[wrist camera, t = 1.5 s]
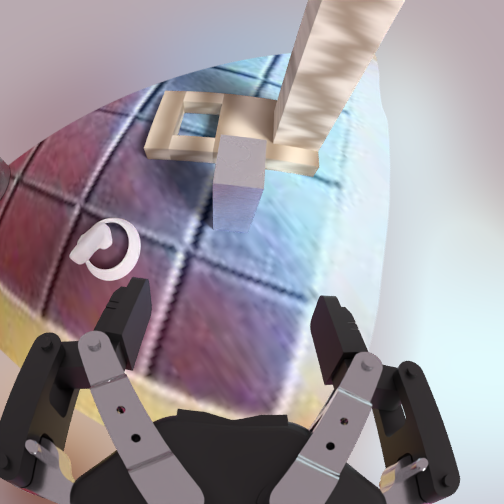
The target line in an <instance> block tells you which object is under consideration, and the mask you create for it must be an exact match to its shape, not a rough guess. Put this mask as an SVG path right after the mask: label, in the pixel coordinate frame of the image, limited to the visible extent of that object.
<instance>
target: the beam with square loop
mask: <svg viewBox="0 0 504 504" xmlns="http://www.w3.org/2000/svg"><path fill="white" fill-rule="evenodd" d="M404 1H405V0H308V3H307V6H306V9H305V12H304V16H303V18H302V22H301V25H300V28H299V31H298V34H297V37H296V41H295V44H294V47H293V51H292V53H291V57H290V60H289V63H288V67H287V70H286V73H285V77H284V80H283V83H282V87H281V90H280V93H279V97H278V100H271V99H265V98H258V97H251V96H243V95H234V94H223V93H211V92H193V91H165V93H164V95H163V98H162V100H161V103H160V105H159V108H158V110H157V113H156V115H155V118H154V121H153V123H152V126H151V129H150V132H149V135H148V138H147V140H146V143H145V146H144V150H145V153H146V155H147V158H148V159H161V160H179V161H193V162H205V163H216V160H217V154H218V148H219V142H220V137H221V135H231V136H240V137H248V138H256V139H263V140H267V143H266V160H265V169H267V170H274V171H281V172H287V173H294V174H300V175H306V176H311V177H313V176H314V174H315V173H316V171H317V170H318V168H319V158H318V151H319V149H320V147H321V146H322V144H323V142H324V141H325V139H326V137H327V135H328V134H329V132H330V130H331V129H332V127H333V125H334V123H335V122H336V120H337V118H338V117H339V115H340V113H341V111H342V110H343V108H344V106H345V105H346V103H347V101H348V99H349V98H350V96H351V94H352V92H353V91H354V89H355V87H356V85H357V84H358V82H359V80H360V79H361V77H362V75H363V73H364V72H365V70H366V68H367V66H368V65H369V63H370V61H371V59H372V58H373V56H374V54H375V52H376V51H377V49H378V47H379V45H380V44H381V42H382V40H383V38H384V37H385V35H386V33H387V31H388V29H389V28H390V26H391V24H392V23H393V21H394V19H395V17H396V15H397V14H398V12H399V10H400V9H401V7H402V5H403V3H404ZM184 113H199V114H213V115H220V116H219V121H218V126H217V132H216V137H215V138H210V137H197V136H180V135H178V132H179V129H180V126H181V122H182V119H183V116H184Z"/></svg>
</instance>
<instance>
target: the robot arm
mask: <svg viewBox="0 0 504 504" xmlns="http://www.w3.org/2000/svg"><path fill="white" fill-rule="evenodd" d="M9 178H10V168H9V166H8V165H7V164H6V163H5V162H4V161H3V160H2V159H1V158H0V200H1V198H2V196H3V195H4V193H5V191H6V188H7V186H8V183H9ZM151 310H152V304H151V295H150V286H149V280H148V279H143V278H136V277H132V279H131V280H130V282H129V284H128V286H127V287H122V286H121V287H120V288H119V289H118V290H116V291H115V292H114V293H113V295H112V296H111V298H110V300H109V302H108V304H107V306H106V308H105V309H104V311H103V313H102V315H101V317H100V319H99V321H98V323H97V325H96V327H95V329H94V331H91V332H88V333H86V334H84V335H83V336H82V337H81V338H80V340H79V341H70V342H61V340H60V338H59V337H58V335H56V334H54V333H44V334H42V335H40V336H39V337H37V339H36V340H35V341H34V343H33V345H32V347H31V349H30V351H29V353H28V355H27V357H26V359H25V361H24V363H23V365H22V368H21V370H20V372H19V374H18V376H17V379H16V381H15V383H14V386H13V388H12V391H11V393H10V396H9V398H8V401H7V403H6V406H5V409H4V412H3V415H2V417H1V420H0V478H2V479H4V480H6V481H7V482H9V483H11V484H13V485H14V486H16V487H18V488H20V489H22V490H24V491H26V492H29V493H31V494H33V495H37V496H40V497H42V498H46V499H49V500H51V501H54V502H56V503H58V504H432V503H434V502H437V501H439V500H441V499H444V498H446V497H448V496H450V495H452V494H454V493H455V492H456V490H457V489H458V486H459V483H460V476H459V471H458V468H457V465H456V461H455V457H454V454H453V450H452V447H451V445H450V441H449V438H448V435H447V432H446V429H445V426H444V423H443V420H442V418H441V415H440V412H439V410H438V407H437V405H436V402H435V399H434V397H433V395H432V392H431V390H430V387H429V385H428V382H427V380H426V377H425V375H424V373H423V371H422V369H421V368H420V367H419V366H418V365H417V364H416V363H414V362H411V361H405V362H402V363H401V364H400V365H399V367H398V368H396V367H390V366H386V365H382V362H381V361H380V359H379V358H378V357H377V356H375V355H374V354H372V353H369V352H368V350H367V348H366V345H365V343H364V341H363V338H362V336H361V334H360V331H359V330H358V327H357V325H356V324H355V320H354V318H353V316H352V314H351V313H350V312H349V311H348V310H347V309H346V308H345V307H341V306H340V303H339V301H338V299H337V297H336V296H320V297H319V299H318V302H317V305H316V308H315V310H314V313H313V316H312V319H311V324H310V329H311V334H312V338H313V342H314V345H315V349H316V353H317V357H318V361H319V365H320V369H321V373H322V377H323V381H324V385H332V384H333V386H334V390H333V391H332V393H331V395H330V396H329V398H328V400H327V401H326V403H325V405H324V406H323V408H322V410H321V411H320V413H319V415H318V416H317V418H316V419H315V421H314V422H313V424H312V425H311V427H310V428H309V429H306V428H304V427H303V426H300V425H298V424H295V423H292V422H288V418H287V415H259V416H254V417H249V418H244V419H238V420H230V419H226V418H223V417H219V416H216V415H213V414H210V413H206V412H200V411H191V410H183V409H178V411H177V415H176V416H169V417H165V418H162V419H159V420H157V421H154V422H152V421H151V419H150V417H149V416H148V414H147V412H146V410H145V409H144V407H143V405H142V403H141V402H140V400H139V398H138V396H137V394H136V392H135V390H134V389H133V387H132V385H131V383H130V381H129V379H128V377H127V375H126V374H125V373H124V371H125V369H127V370H132V371H133V368H134V365H135V362H136V358H137V355H138V352H139V349H140V346H141V343H142V340H143V337H144V334H145V331H146V328H147V325H148V322H149V319H150V316H151ZM89 388H90V390H91V393H92V396H93V398H94V401H95V403H96V406H97V408H98V411H99V413H100V415H101V418H102V420H103V422H104V424H105V427H106V429H107V430H108V433H109V435H110V437H111V439H112V441H113V443H114V445H115V447H116V449H117V450H116V451H115V452H113V453H112V454H111V455H110V456H108V457H107V458H105V459H104V460H102V461H101V462H100V463H98V464H97V465H96V466H94V467H93V468H92V469H90V470H89V471H87V472H86V473H84V474H83V475H81V476H80V477H79V478H78V479H77V480H76V481H75V480H74V478H73V476H72V473H71V462H70V459H69V457H68V456H67V455H66V453H65V452H64V447H65V442H66V438H67V433H68V430H69V426H70V422H71V418H72V414H73V411H74V407H75V404H76V400H77V397H78V393H79V390H80V389H89ZM401 404H402V406H403V409H404V412H405V416H406V419H405V416H404V412H403V409H402V406H401ZM371 408H372V410H373V414H374V418H375V422H376V426H377V430H378V434H379V439H380V443H381V447H382V452H383V457H384V462H385V467H386V469H385V470H384V472H383V473H382V476H381V481H380V483H379V486H380V489H379V488H378V487H376V486H375V485H374V484H372V483H371V482H370V481H369V480H367V479H366V478H365V477H363V476H362V475H361V474H360V473H359V472H357V471H356V470H355V469H354V468H352V467H351V466H350V465H349V464H348V463H346V462H347V460H348V458H349V456H350V454H351V452H352V450H353V448H354V446H355V444H356V442H357V440H358V438H359V436H360V434H361V431H362V429H363V427H364V424H365V422H366V420H367V418H368V416H369V413H370V411H371Z"/></svg>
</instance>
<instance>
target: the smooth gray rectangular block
mask: <svg viewBox="0 0 504 504" xmlns="http://www.w3.org/2000/svg"><path fill="white" fill-rule="evenodd" d="M266 143H267V140H263V139H256V138H248V137H240V136H231V135H221V137H220V142H219V148H218V154H217V160H216V166H215V172H214V179H213V230H220V231H229V232H239V233H248V232H249V229H250V226H251V223H252V220H253V218H254V215H255V212H256V209H257V207H258V204H259V201H260V198H261V195H262V193H263V190H264V177H265V160H266Z"/></svg>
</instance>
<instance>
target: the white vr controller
mask: <svg viewBox="0 0 504 504" xmlns="http://www.w3.org/2000/svg"><path fill="white" fill-rule="evenodd" d="M109 222H115V223H118V224H120V225H121V226H122V227H123V228H124V229H125V230H126V232H127V234H128V238H129V247H128V251H127V254H126V256H125V258H124V259H123V260H122V262H120V263H119V264H118V265H117V266H115V267H113V268H111V269H106V270H105V269H99V268H97V267H95V266H93V265H92V264H91V262H90V261H89V259H90V257H91V256H92V255H93V253H94V252H95V251H97V250H98V249H99V248H101V249H107V248H108V247H109V246H111V244H112V237H111V231H110V228H109V227H108V226H107V225H106V223H109ZM140 248H141V244H140V238H139V234H138V232H137V230H136V229H135V227H134V226H133V225H132V224H131V223H129V222H128V221H126V220H124V219H120V218H107V219H104V220H101V221H99V222H98V223H96V224H95V225H94V226H93V227H92V228H91V229H89V230H88V231H87V232H86V233H85V234H82V235H81V236H80V238H79V240H78V242H77V245H76V246H75V248H74V249H73V250H72V252H71V253H70V258H71V259H72V260H73V261H74V262H75V263H77V264H83V263H86V265H87V267H88V269H89V270H90V272H91V273H92V274H93V275H94V276H96V277H97V278H99V279H102V280H106V281H112V280H117V279H120V278H122V277H124V276H125V275H127V274H128V273H129V272H130V271H131V270H132V269H133V267H134V266H135V265H136V263H137V260H138V258H139V254H140Z"/></svg>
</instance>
